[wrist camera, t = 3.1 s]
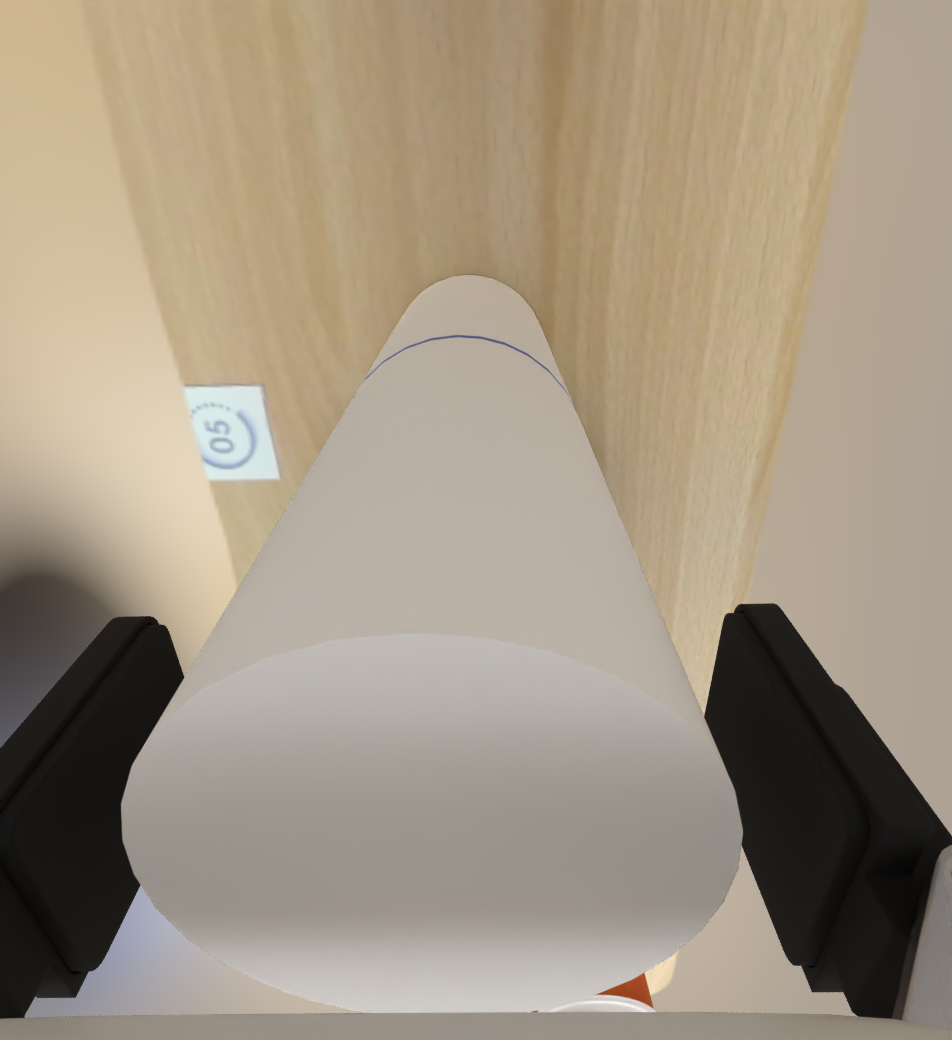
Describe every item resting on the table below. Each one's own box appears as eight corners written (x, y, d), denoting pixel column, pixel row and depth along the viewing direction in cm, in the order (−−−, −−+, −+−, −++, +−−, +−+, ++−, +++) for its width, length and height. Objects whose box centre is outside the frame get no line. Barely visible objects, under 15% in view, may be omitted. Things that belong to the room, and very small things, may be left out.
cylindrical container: (559, 289, 28) (855, 684, 6) (528, 436, 31) (641, 1037, 9) (401, 262, 27) (72, 584, 5) (387, 414, 31) (151, 996, 9)
